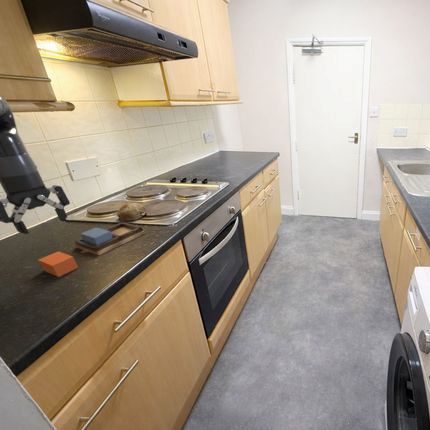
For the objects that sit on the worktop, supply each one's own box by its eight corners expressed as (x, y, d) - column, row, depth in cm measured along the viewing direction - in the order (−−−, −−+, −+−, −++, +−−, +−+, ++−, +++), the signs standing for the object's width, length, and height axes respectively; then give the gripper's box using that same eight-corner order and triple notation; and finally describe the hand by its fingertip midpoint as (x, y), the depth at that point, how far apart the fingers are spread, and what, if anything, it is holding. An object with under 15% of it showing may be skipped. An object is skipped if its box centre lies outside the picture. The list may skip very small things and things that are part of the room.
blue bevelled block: (98, 248, 89) (94, 237, 87) (84, 243, 92) (80, 233, 90) (114, 241, 93) (110, 231, 91) (100, 237, 96) (96, 227, 94)
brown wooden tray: (98, 255, 87) (95, 248, 86) (76, 247, 92) (73, 240, 91) (145, 233, 100) (143, 227, 99) (123, 227, 105) (121, 221, 104)
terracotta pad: (58, 277, 77) (52, 265, 75) (44, 270, 80) (37, 259, 78) (78, 267, 81) (73, 256, 79) (64, 261, 84) (58, 251, 82)
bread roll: (136, 229, 111) (139, 213, 108) (110, 220, 109) (112, 204, 106) (149, 219, 120) (152, 204, 117) (125, 211, 118) (127, 195, 115)
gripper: (44, 164, 76) (67, 215, 83) (-30, 177, 65) (4, 235, 71) (58, 166, 74) (81, 218, 81) (-17, 181, 62) (18, 240, 69)
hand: (45, 226), depth 76 cm, fingers open, 8 cm apart
